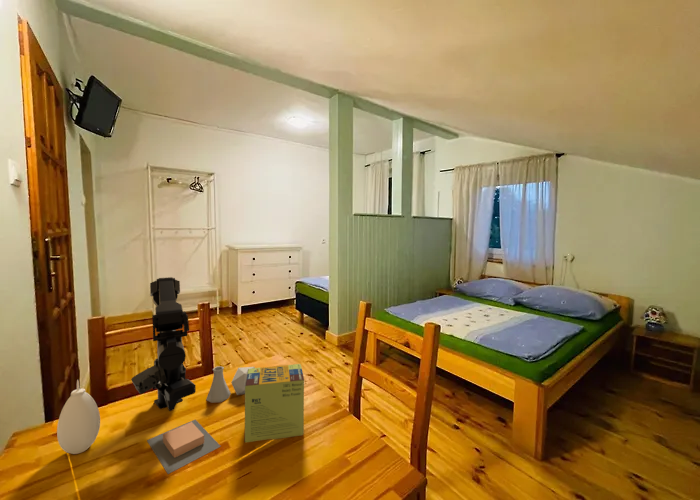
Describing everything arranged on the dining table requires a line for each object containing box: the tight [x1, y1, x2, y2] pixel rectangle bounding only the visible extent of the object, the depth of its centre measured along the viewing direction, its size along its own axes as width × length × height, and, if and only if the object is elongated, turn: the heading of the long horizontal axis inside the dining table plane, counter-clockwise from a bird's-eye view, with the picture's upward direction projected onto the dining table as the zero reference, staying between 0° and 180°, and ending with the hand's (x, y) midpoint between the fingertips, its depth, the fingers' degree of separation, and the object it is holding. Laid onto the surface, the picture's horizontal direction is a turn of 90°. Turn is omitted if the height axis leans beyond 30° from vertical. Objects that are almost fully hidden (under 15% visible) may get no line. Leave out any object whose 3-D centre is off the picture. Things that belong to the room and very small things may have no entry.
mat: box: [146, 419, 222, 475], centre depth 77 cm, size 16×12×1 cm
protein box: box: [244, 363, 305, 443], centre depth 85 cm, size 10×15×16 cm
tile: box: [163, 421, 204, 458], centre depth 77 cm, size 2×7×8 cm
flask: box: [205, 365, 231, 404], centre depth 99 cm, size 7×7×10 cm
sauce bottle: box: [56, 379, 101, 455], centre depth 74 cm, size 8×8×18 cm
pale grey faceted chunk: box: [231, 366, 256, 396], centre depth 103 cm, size 8×9×10 cm
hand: (171, 409), depth 83 cm, fingers closed
